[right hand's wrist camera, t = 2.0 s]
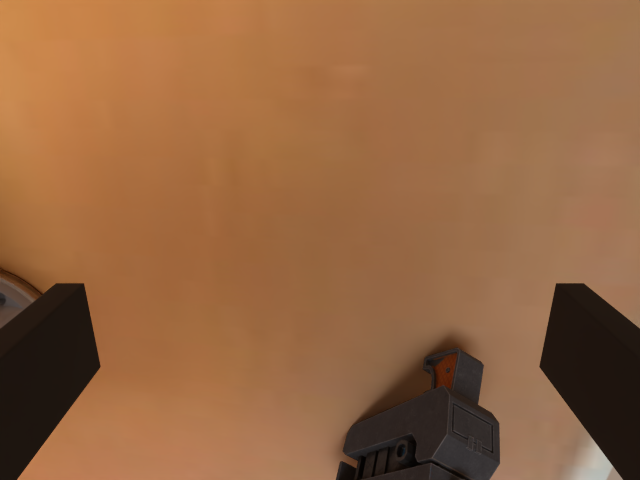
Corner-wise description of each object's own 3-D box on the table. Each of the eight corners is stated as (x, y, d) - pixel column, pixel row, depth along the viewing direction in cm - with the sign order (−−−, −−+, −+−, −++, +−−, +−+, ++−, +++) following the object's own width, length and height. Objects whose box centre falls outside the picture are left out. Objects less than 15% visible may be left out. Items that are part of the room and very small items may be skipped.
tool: (505, 358, 42) (504, 542, 32) (385, 408, 56) (359, 547, 46) (453, 327, 41) (437, 507, 31) (344, 386, 55) (308, 523, 45)
